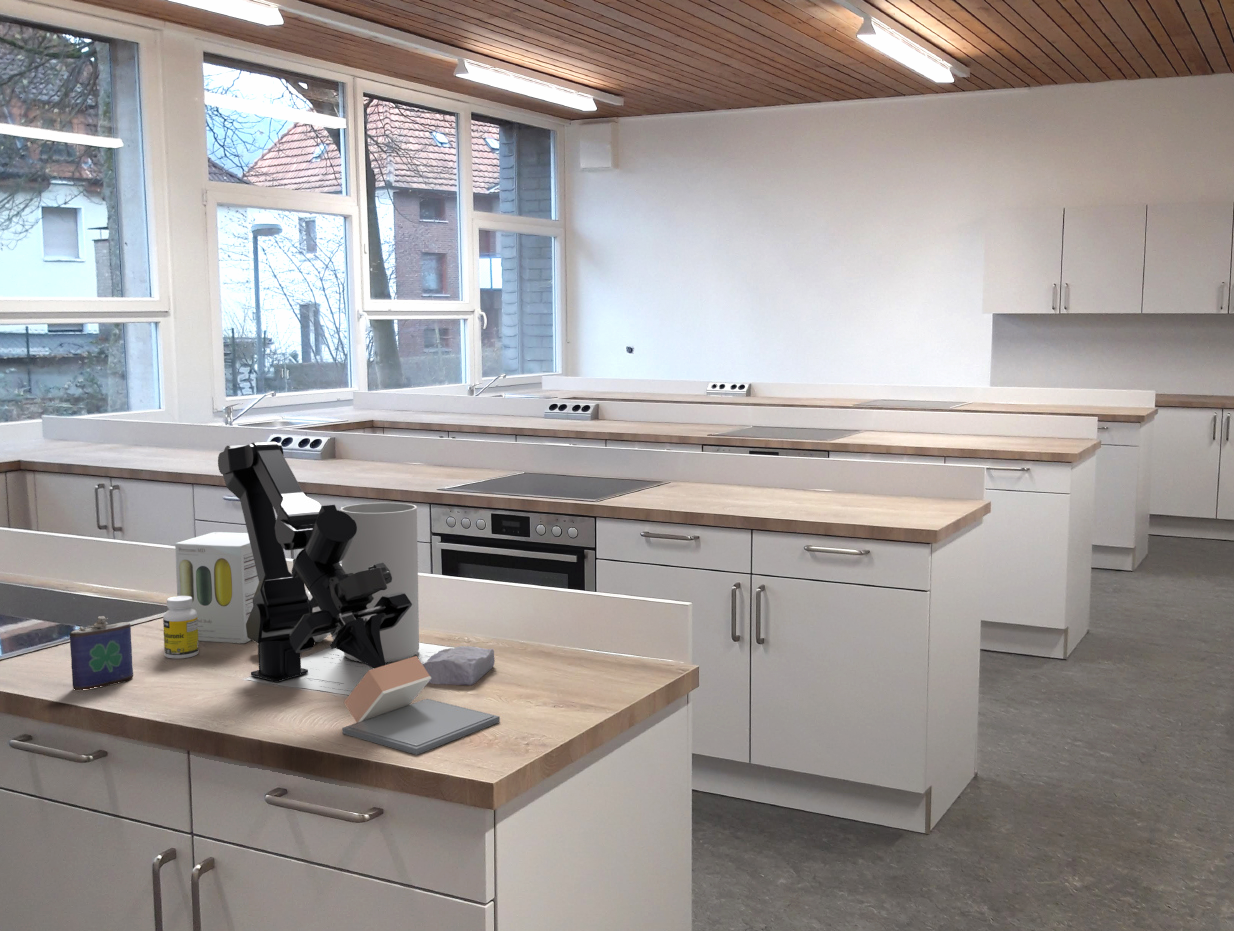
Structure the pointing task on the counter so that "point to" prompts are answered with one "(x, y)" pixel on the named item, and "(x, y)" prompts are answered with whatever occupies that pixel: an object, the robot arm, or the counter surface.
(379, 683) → the salmon orange block
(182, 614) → the supplement bottle
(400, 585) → the cylinder vase
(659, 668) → the counter surface
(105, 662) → the flask
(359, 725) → the slate board
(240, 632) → the supplement box
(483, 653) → the stone block
